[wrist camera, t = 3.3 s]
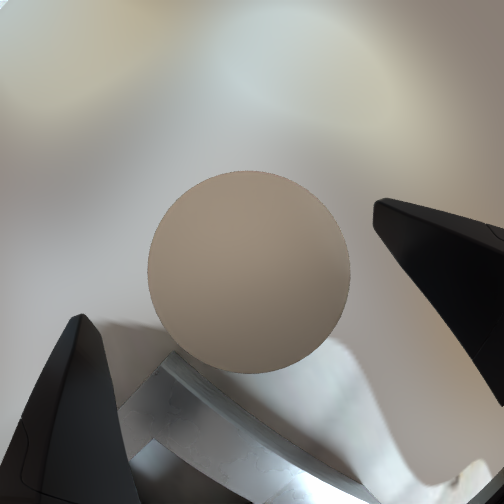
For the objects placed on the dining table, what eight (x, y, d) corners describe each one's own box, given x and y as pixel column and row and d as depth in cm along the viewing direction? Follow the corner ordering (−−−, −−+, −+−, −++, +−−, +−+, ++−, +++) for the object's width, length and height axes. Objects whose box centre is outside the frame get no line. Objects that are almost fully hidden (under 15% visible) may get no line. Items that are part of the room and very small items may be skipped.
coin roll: (287, 286, 17) (386, 262, 7) (232, 348, 16) (260, 415, 6) (226, 230, 17) (245, 134, 7) (170, 291, 16) (104, 273, 6)
